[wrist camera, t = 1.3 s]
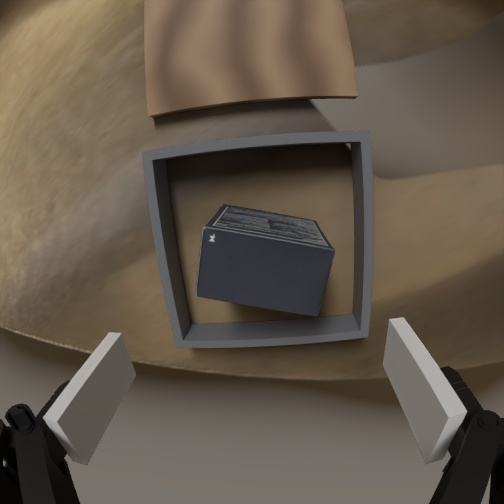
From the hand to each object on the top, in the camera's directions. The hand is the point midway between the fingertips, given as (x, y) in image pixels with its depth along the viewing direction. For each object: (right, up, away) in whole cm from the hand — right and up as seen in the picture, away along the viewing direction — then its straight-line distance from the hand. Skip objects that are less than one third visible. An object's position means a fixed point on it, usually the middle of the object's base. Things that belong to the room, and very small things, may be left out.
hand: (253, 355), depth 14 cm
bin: (+1, +6, +20) cm, 21 cm away
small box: (+1, +6, +20) cm, 21 cm away
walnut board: (-1, +29, +13) cm, 32 cm away
